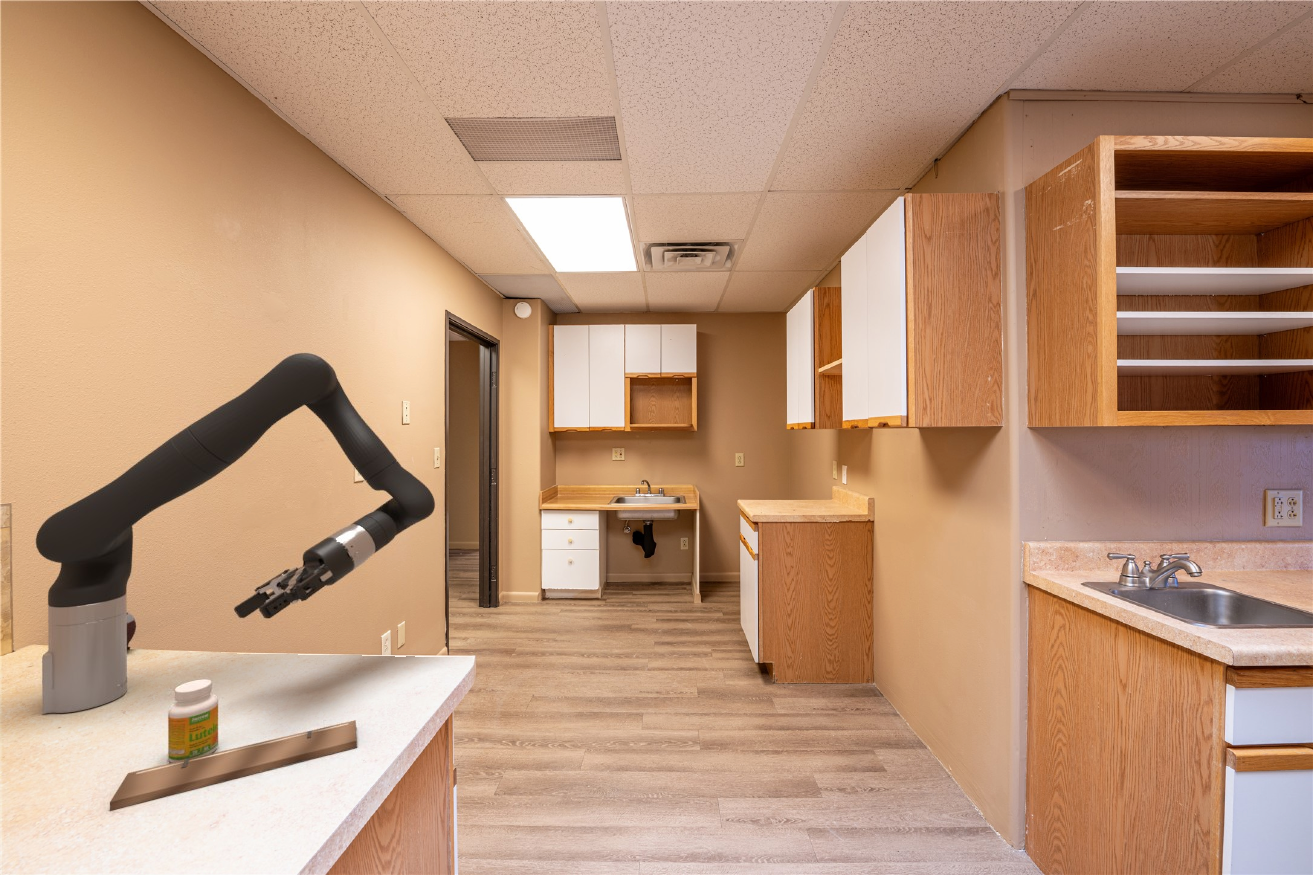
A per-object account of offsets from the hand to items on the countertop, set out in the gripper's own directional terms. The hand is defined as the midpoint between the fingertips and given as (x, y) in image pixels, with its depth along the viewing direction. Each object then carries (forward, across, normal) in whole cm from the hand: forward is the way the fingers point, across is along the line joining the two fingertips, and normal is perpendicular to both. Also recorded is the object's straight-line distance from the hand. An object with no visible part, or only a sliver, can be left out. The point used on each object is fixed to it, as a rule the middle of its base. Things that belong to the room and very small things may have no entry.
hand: (249, 614), depth 85 cm
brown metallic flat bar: (+13, +10, +15) cm, 22 cm away
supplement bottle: (+15, 0, +12) cm, 19 cm away
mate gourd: (+6, -56, +6) cm, 57 cm away
